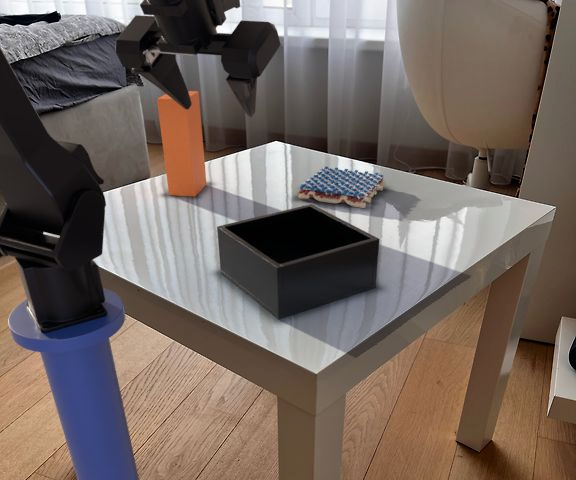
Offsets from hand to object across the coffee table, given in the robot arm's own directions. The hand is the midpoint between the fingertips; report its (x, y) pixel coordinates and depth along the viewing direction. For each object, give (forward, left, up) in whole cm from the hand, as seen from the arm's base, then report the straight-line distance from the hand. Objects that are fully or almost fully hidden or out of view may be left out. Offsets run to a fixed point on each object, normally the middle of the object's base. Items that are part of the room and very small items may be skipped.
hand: (219, 110), depth 75 cm
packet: (0, +13, -13) cm, 18 cm away
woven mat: (+18, -1, -13) cm, 23 cm away
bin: (-3, -21, -13) cm, 25 cm away
